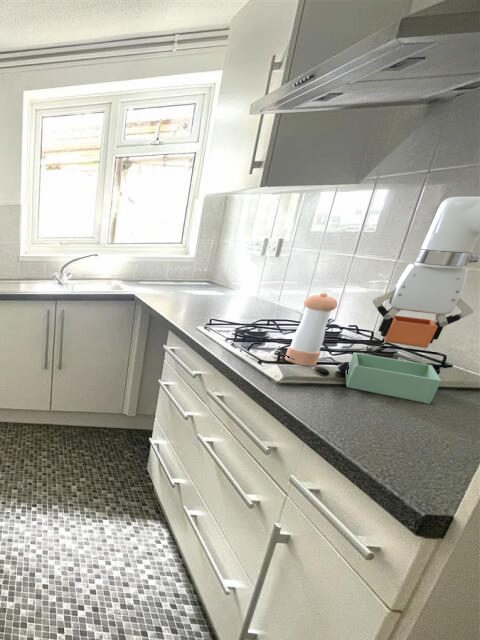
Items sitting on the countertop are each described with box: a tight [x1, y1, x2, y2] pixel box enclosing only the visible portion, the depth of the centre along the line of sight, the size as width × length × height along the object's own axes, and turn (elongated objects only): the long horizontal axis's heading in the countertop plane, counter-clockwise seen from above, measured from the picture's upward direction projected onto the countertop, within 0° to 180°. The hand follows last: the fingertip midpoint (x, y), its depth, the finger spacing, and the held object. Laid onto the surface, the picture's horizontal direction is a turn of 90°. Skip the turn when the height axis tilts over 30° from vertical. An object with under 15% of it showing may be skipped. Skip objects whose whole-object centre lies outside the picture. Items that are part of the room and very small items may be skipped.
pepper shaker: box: [284, 292, 338, 367], centre depth 114 cm, size 7×7×19 cm
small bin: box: [382, 314, 438, 349], centre depth 96 cm, size 7×7×5 cm
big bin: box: [345, 352, 442, 405], centre depth 100 cm, size 14×12×6 cm
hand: (405, 337), depth 96 cm, fingers closed on small bin, 7 cm apart
